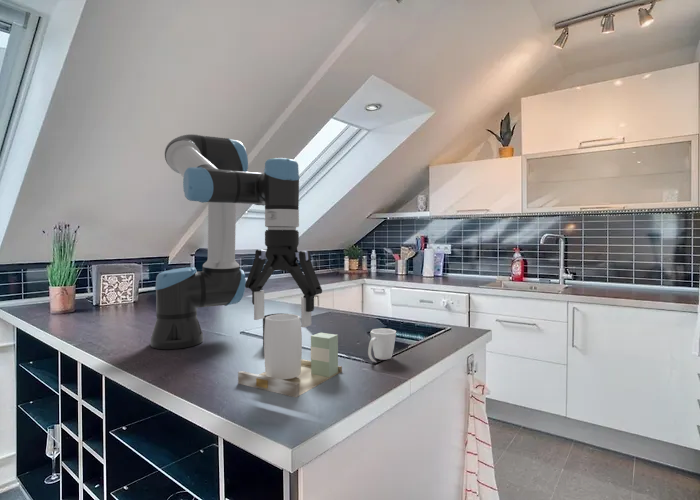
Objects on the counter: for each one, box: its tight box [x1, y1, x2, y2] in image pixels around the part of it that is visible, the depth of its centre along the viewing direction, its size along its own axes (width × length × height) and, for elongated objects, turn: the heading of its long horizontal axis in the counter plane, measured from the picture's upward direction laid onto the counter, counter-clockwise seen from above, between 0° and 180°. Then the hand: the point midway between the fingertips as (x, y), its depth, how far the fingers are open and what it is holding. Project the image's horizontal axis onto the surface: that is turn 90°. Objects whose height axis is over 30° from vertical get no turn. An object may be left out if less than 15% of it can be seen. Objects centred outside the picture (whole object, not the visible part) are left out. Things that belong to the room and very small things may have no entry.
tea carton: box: [310, 332, 339, 377], centre depth 96 cm, size 5×4×9 cm
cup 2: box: [367, 327, 397, 363], centre depth 107 cm, size 7×10×8 cm
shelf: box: [237, 358, 343, 398], centre depth 94 cm, size 16×18×3 cm
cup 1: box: [263, 313, 303, 380], centre depth 92 cm, size 8×8×14 cm
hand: (281, 322), depth 92 cm, fingers open, 13 cm apart
